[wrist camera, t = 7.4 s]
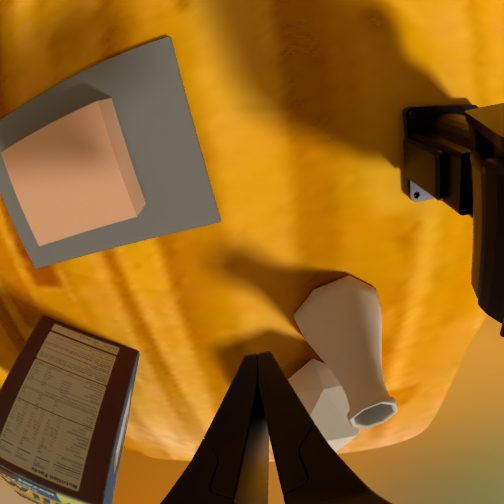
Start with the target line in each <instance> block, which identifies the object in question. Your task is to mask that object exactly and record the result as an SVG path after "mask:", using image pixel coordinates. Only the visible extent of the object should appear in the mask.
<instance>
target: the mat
mask: <svg viewBox="0 0 504 504" xmlns="http://www.w3.org/2000/svg"><path fill="white" fill-rule="evenodd" d="M110 98H112V100H113V104H114V107H115V111H116V114H117V118H118V121H119V124H120V127H121V131H122V134H123V137H124V140H125V143H126V147H127V150H128V153H129V156H130V159H131V162H132V165H133V168H134V171H135V174H136V177H137V180H138V182H139V185H140V188H141V191H142V194H143V197H144V199H145V202H146V205H145V206H144V207H143V209H142V210H141V212H140V213H139V214H138V216H137V217H134V218H131V219H127V220H123V221H120V222H116V223H113V224H110V225H106V226H103V227H99V228H96V229H93V230H89V231H86V232H83V233H80V234H76V235H73V236H70V237H67V238H64V239H61V240H57V241H54V242H51V243H48V244H45V245H42V246H39V245H38V243H37V241H36V239H35V237H34V235H33V232H32V230H31V228H30V226H29V224H28V222H27V219H26V217H25V215H24V213H23V210H22V208H21V205H20V203H19V201H18V198H17V196H16V193H15V191H14V188H13V186H12V183H11V180H10V178H9V175H8V172H7V169H6V166H5V164H4V161H3V158H2V155H1V152H3V151H4V150H6V149H7V148H9V147H10V146H12V145H14V144H15V143H17V142H19V141H20V140H22V139H24V138H25V137H27V136H29V135H31V134H32V133H34V132H36V131H38V130H39V129H41V128H43V127H45V126H47V125H49V124H50V123H52V122H54V121H56V120H58V119H60V118H62V117H64V116H66V115H68V114H70V113H72V112H74V111H76V110H78V109H81V108H83V107H85V106H87V105H89V104H91V103H94V102H96V101H99V100H104V99H110ZM0 194H1V196H2V199H3V201H4V203H5V206H6V208H7V211H8V213H9V215H10V218H11V220H12V222H13V224H14V226H15V229H16V231H17V233H18V235H19V237H20V239H21V241H22V243H23V245H24V247H25V249H26V251H27V253H28V255H29V257H30V259H31V261H32V263H33V265H34V267H35V269H37V268H40V267H44V266H47V265H51V264H55V263H58V262H62V261H66V260H69V259H73V258H77V257H80V256H84V255H88V254H92V253H95V252H99V251H103V250H107V249H111V248H115V247H119V246H123V245H127V244H131V243H135V242H139V241H143V240H147V239H151V238H155V237H159V236H163V235H167V234H171V233H176V232H180V231H184V230H188V229H193V228H197V227H201V226H206V225H210V224H214V223H219V222H221V219H220V215H219V212H218V208H217V205H216V201H215V198H214V194H213V191H212V187H211V184H210V180H209V177H208V173H207V170H206V166H205V163H204V159H203V155H202V152H201V148H200V145H199V141H198V137H197V134H196V130H195V127H194V123H193V119H192V116H191V112H190V108H189V105H188V101H187V97H186V93H185V90H184V86H183V82H182V78H181V75H180V71H179V67H178V63H177V59H176V56H175V52H174V48H173V44H172V40H171V37H170V36H168V37H165V38H162V39H159V40H156V41H154V42H151V43H148V44H145V45H142V46H140V47H137V48H135V49H132V50H129V51H127V52H124V53H122V54H120V55H117V56H115V57H112V58H110V59H108V60H105V61H103V62H101V63H99V64H97V65H94V66H92V67H90V68H88V69H86V70H84V71H82V72H80V73H78V74H76V75H74V76H72V77H70V78H68V79H66V80H64V81H63V82H61V83H59V84H57V85H55V86H53V87H52V88H50V89H48V90H46V91H45V92H43V93H41V94H40V95H38V96H36V97H35V98H33V99H31V100H30V101H28V102H26V103H25V104H23V105H22V106H20V107H19V108H17V109H16V110H14V111H13V112H11V113H10V114H8V115H7V116H5V117H4V118H2V119H1V120H0Z"/></svg>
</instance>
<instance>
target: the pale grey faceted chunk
mask: <svg viewBox="0 0 504 504" xmlns="http://www.w3.org/2000/svg"><path fill="white" fill-rule="evenodd" d="M288 381H289V383H290V384H291V386H292V387H293V389H294V391H295V392H296V394H297V396H298V397H299V399H300V400H301V402H302V404H303V405H304V407H305V408H306V410H307V412H308V413H309V415H310V416H311V418H312V420H313V421H314V423H315V425H316V426H317V427H318V429H319V430H320V432H321V434H322V435H323V436H324V438H325V439H326V441H327V442H328V444H329V445H330V446H331V447H332V449H333V450H334V451H335V452H336V451H337V450H339V449H340V448H342V447H343V446H344V445H346V444H347V443H349V442H350V441H351V440H353V439H354V438H355V437H357V436H358V435H359V431H360V428H352V427H351V425H350V423H349V421H348V418H347V413H348V412H349V411H350V407H349V403H348V400H347V396H346V394H345V392H344V390H343V388H342V386H341V384H340V382H339V381H338V380H337V378H336V377H335V376H334V374H333V373H332V372H331V370H330V369H329V368H328V367H327V365H326V364H325V363H322V362H320V361H317V360H315V359H313V358H312V359H311V360H310V361H309V362H308V363H307V364H305V365H304V366H303V367H302V368H301V369H299V370H298V371H297V372H296V373H295V374H293V375H292V376H291V377H290V378H289V379H288Z"/></svg>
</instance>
